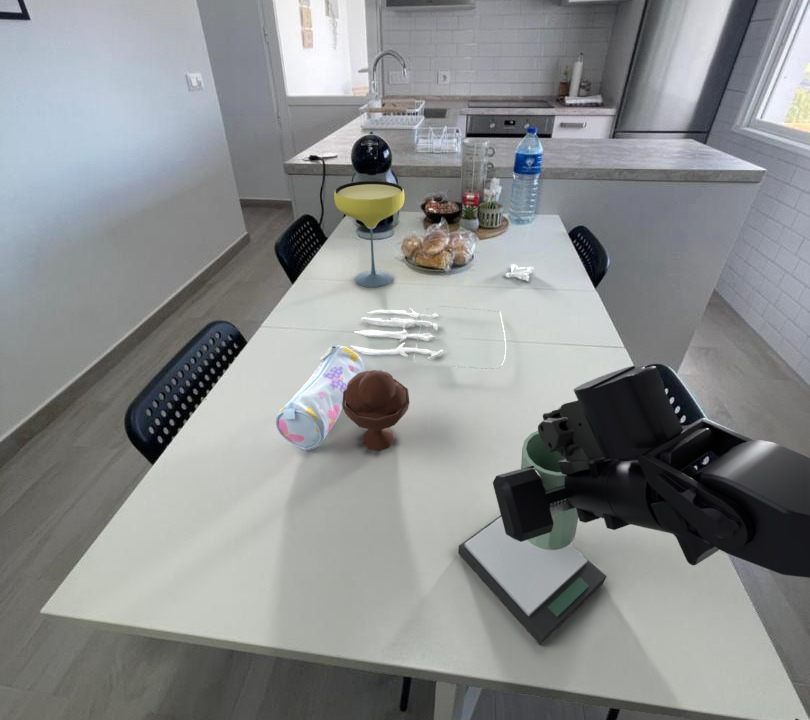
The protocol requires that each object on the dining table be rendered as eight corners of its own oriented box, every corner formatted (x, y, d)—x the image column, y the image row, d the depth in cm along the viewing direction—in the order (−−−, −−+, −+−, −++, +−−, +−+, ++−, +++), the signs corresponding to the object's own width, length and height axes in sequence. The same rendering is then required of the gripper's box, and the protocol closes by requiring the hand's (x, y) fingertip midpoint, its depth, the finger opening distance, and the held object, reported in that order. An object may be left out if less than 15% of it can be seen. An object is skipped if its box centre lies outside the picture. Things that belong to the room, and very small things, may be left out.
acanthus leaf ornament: (510, 268, 135) (511, 262, 134) (533, 271, 133) (534, 265, 131) (504, 277, 129) (505, 271, 128) (528, 281, 127) (529, 275, 126)
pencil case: (328, 376, 92) (323, 337, 86) (368, 383, 90) (365, 344, 84) (277, 449, 75) (266, 407, 70) (324, 460, 73) (317, 417, 68)
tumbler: (585, 523, 56) (601, 447, 48) (556, 561, 52) (568, 486, 45) (537, 493, 60) (544, 420, 53) (507, 527, 57) (510, 453, 49)
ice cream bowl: (421, 430, 79) (422, 362, 70) (385, 473, 71) (382, 401, 62) (371, 409, 83) (367, 342, 74) (333, 447, 76) (323, 377, 67)
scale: (603, 583, 56) (608, 573, 55) (540, 645, 51) (544, 636, 49) (519, 507, 66) (521, 497, 64) (457, 553, 60) (459, 542, 58)
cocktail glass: (342, 267, 135) (334, 181, 121) (401, 265, 137) (401, 179, 122) (341, 295, 121) (332, 201, 106) (408, 291, 122) (408, 198, 108)
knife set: (366, 303, 116) (366, 299, 116) (502, 311, 112) (503, 307, 112) (342, 360, 96) (341, 356, 95) (507, 372, 92) (508, 368, 91)
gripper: (689, 379, 42) (589, 398, 57) (515, 423, 38) (455, 431, 53) (729, 497, 41) (615, 485, 56) (551, 559, 36) (479, 527, 51)
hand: (543, 479), depth 54 cm, fingers closed on tumbler, 7 cm apart
